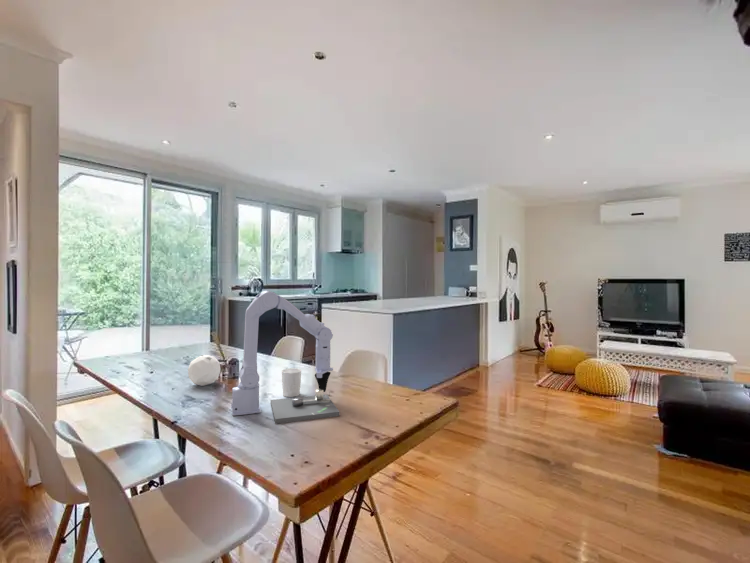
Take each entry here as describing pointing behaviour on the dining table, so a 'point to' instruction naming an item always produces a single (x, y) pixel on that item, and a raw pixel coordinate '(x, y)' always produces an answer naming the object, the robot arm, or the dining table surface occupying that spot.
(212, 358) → the geodesic sphere
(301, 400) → the peg lever
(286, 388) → the white cup
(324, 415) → the dial board
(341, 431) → the dining table surface
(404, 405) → the dining table surface
